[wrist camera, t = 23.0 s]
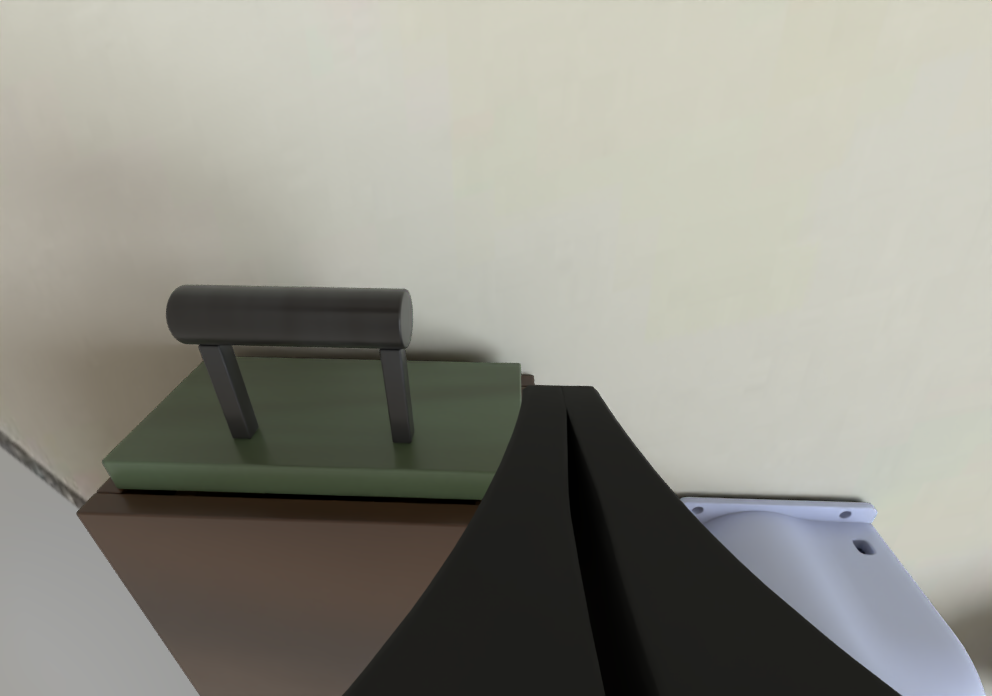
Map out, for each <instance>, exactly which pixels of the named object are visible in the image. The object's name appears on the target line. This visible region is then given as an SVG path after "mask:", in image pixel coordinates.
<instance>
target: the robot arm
mask: <svg viewBox="0 0 992 696" xmlns="http://www.w3.org/2000/svg"><path fill="white" fill-rule="evenodd" d="M876 515H877V510H876V509H875V507H874V506H873V505H872V504H870V503H866V502H835V501H802V500H769V499H736V498H703V497H682V498H680V499H679V498H678V496H677V495H676V494H675V493H674V492H673V491H672V490H671V489H670V487H669V486H668V485H667V484H666V483H665V482H664V480H663V479H662V478H661V477H660V476H659V474H658V473H657V472H656V471H655V470H654V468H653V467H652V466H651V465H650V463H649V462H648V461H647V460H646V458H645V457H644V456H643V454H642V453H641V452H640V451H639V449H638V448H637V447H636V446H635V444H634V443H633V442H632V440H631V439H630V438H629V436H628V435H627V434H626V432H625V431H624V429H623V428H622V427H621V425H620V424H619V423H618V421H617V420H616V418H615V417H614V415H613V414H612V413H611V411H610V410H609V408H608V407H607V405H606V404H605V402H604V401H603V399H602V398H601V396H600V394H599V393H598V391H597V390H596V389H595V388H594V387H593V386H550V385H528V386H527V387H525V388H524V389H523V390H522V402H521V407H520V411H519V415H518V418H517V421H516V424H515V427H514V431H513V433H512V436H511V438H510V441H509V443H508V446H507V448H506V451H505V453H504V456H503V458H502V460H501V463H500V465H499V467H498V469H497V471H496V473H495V475H494V477H493V479H492V481H491V483H490V485H489V487H488V489H487V491H486V493H485V495H484V497H483V499H482V501H481V503H480V505H479V506H478V508H477V510H476V512H475V514H474V515H473V517H472V519H471V521H470V522H469V524H468V526H467V527H466V529H465V531H464V532H463V534H462V536H461V537H460V539H459V540H458V542H457V544H456V545H455V547H454V549H453V550H452V552H451V553H450V555H449V556H448V558H447V559H446V561H445V562H444V564H443V565H442V566H441V568H440V569H439V571H438V572H437V574H436V575H435V577H434V578H433V580H432V581H431V583H430V584H429V586H428V587H427V589H426V590H425V591H424V593H423V594H422V596H421V597H420V598H419V600H418V601H417V602H416V604H415V605H414V607H413V608H412V609H411V611H410V612H409V613H408V614H407V616H406V617H405V618H404V620H403V621H402V622H401V623H400V625H399V626H398V627H397V628H396V630H395V631H394V632H393V634H392V635H391V636H390V637H389V639H388V640H387V641H386V642H385V644H384V645H383V646H382V647H381V649H380V650H379V651H378V653H377V654H376V655H375V656H374V658H373V659H372V660H371V661H370V663H369V664H368V665H367V667H366V668H365V669H364V670H363V672H362V673H361V674H360V675H359V676H358V677H357V679H356V680H355V681H354V682H353V683H352V685H351V686H350V687H349V688H348V689H347V691H346V692H345V693H344V694H343V695H342V696H986V695H985V691H984V688H983V686H982V683H981V680H980V677H979V675H978V673H977V671H976V669H975V666H974V664H973V662H972V660H971V658H970V657H969V655H968V653H967V652H966V650H965V648H964V646H963V645H962V644H961V642H960V641H959V639H958V638H957V636H956V635H955V634H954V632H953V631H952V630H951V628H950V627H949V626H948V624H947V623H946V622H945V620H944V619H943V618H942V616H941V615H940V614H939V612H938V611H937V610H936V609H935V607H934V606H933V605H932V603H931V602H930V601H929V599H928V598H927V597H926V595H925V594H924V593H923V591H922V590H921V589H920V587H919V586H918V585H917V583H916V582H915V581H914V579H913V578H912V577H911V575H910V574H909V573H908V572H907V570H906V569H905V568H904V566H903V565H902V564H901V562H900V561H899V560H898V558H897V557H896V556H895V554H894V553H893V552H892V550H891V549H890V548H889V546H888V545H887V544H886V542H885V541H884V540H883V538H882V537H881V536H880V535H879V533H878V532H877V531H876V529H875V528H874V527H873V525H872V524H871V523H872V522H873V520H874V518H875V517H876Z"/></svg>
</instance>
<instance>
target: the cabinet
mask: <svg viewBox="0 0 992 696" xmlns="http://www.w3.org/2000/svg"><path fill="white" fill-rule="evenodd" d="M528 385H535V384H534V376H533V375H521V402H522V390H523V389H524V388H525V387H527V386H528ZM175 493H176V491H175V490H143V489H119V488H117V487H116V486H115V484H114V482H113V481H112V479H111V477H110V478H109V479H108V480H107V481H106V482H105V483H104V484H103V485H102V486H101V487H100V488H99V489H98V490H97V493H95V494H94V495H93V496H92V497H91V498H90V499H89V500H88V501H87V502H86V503H85V504H84V505H83V506H82V507H81V508H80V509H79V510H78V511H77V516H78V517H79V519H80V520H81V522H82V523H83V525H84V526H85V528H86V529H87V531H88V532H89V534H90V535H91V536H92V538H93V539H94V541H95V542H96V544H97V545H98V547H99V548H100V550H101V551H102V552H103V554H104V555H105V557H106V558H107V560H108V561H109V563H110V564H111V566H112V567H113V569H114V570H115V572H116V573H117V574H118V576H119V578H120V579H121V580H122V582H123V583H124V585H125V586H126V588H127V589H128V591H129V592H130V594H131V595H132V597H133V598H134V600H135V601H136V602H137V604H138V605H139V607H140V608H141V610H142V611H143V613H144V614H145V616H146V617H147V619H148V620H149V622H150V623H151V624H152V626H153V627H154V629H155V630H156V632H157V633H158V635H159V636H160V638H161V639H162V641H163V642H164V644H165V645H166V646H167V648H168V650H169V651H170V652H171V654H172V655H173V657H174V658H175V660H176V661H177V663H178V664H179V665H180V667H181V668H182V670H183V672H184V673H185V675H186V676H187V677H188V679H189V680H190V682H191V683H192V685H193V686H194V688H195V689H196V691H197V692H198V693H199V695H200V696H342V695H343V694H344V693H345V692H346V691H347V689H348V688H349V687H350V686H351V685H352V683H353V682H354V681H355V680H356V679H357V677H358V676H359V675H360V674H361V673H362V672H363V670H364V669H365V668H366V667H367V665H368V664H369V663H370V661H371V660H372V659H373V658H374V656H375V655H376V654H377V653H378V651H379V650H380V649H381V647H382V646H383V645H384V644H385V642H386V641H387V640H388V639H389V637H390V636H391V635H392V634H393V632H394V631H395V630H396V628H397V627H398V626H399V625H400V623H401V622H402V621H403V620H404V618H405V617H406V616H407V614H408V613H409V612H410V611H411V609H412V608H413V607H414V605H415V604H416V602H417V601H418V600H419V598H420V597H421V596H422V594H423V593H424V591H425V590H426V589H427V587H428V586H429V584H430V583H431V581H432V580H433V578H434V577H435V575H436V574H437V572H438V571H439V569H440V568H441V566H442V565H443V564H444V562H445V561H446V559H447V558H448V556H449V555H450V553H451V552H452V550H453V549H454V547H455V545H456V544H457V542H458V540H459V539H460V537H461V536H462V534H463V532H464V531H465V529H466V527H467V526H468V524H469V522H470V521H471V519H472V517H473V515H474V514H475V512H476V510H477V508H478V506H479V505H467V504H435V503H403V502H371V501H339V500H307V499H275V498H242V497H210V496H178V495H174V494H175Z"/></svg>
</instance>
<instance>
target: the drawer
mask: <svg viewBox="0 0 992 696" xmlns="http://www.w3.org/2000/svg"><path fill="white" fill-rule="evenodd" d="M166 318H167V324H168V327H169V330H170V332H171V333H172V335H173V336H174V337H175V338H176V339H177V340H178V341H179V342H182V343H184V344H200V345H199V350H200V353H201V355H202V358H203V362H202V363H201V364H200V365H199V366H198V367H197V368H196V369H195V370H194V371H193V372H192V373H191V374H190V375H188V376H187V377H186V378H185V379H184V380H183V381H182V382H181V383H180V384H179V385H178V386H177V387H176V388H175V389H174V390H173V391H172V392H171V393H170V394H169V395H168V396H167V397H166V398H165V399H164V400H163V401H162V402H161V403H160V404H159V405H158V406H157V407H156V408H155V409H154V410H153V411H152V412H151V413H150V414H149V415H148V416H147V417H146V418H145V419H144V420H143V421H142V422H141V423H140V424H139V425H138V426H137V427H136V428H135V429H134V430H133V431H132V432H131V433H130V434H129V435H128V436H127V437H126V438H125V439H124V440H122V441H121V442H120V443H119V444H118V445H117V446H116V447H115V448H114V449H113V450H112V451H111V452H110V453H109V454H108V455H107V456H106V457H105V458H104V459H103V460H102V464H103V465H104V467H105V469H106V470H107V472H108V474H109V475H110V477H111V479H112V481H113V482H114V484H115V486H116V487H117V488H119V489H143V490H175V491H176V493H175V494H174V495H178V496H210V497H242V498H262V497H263V495H264V494H265V493H272V494H304V495H337V496H369V497H375V498H374V501H373V502H403V503H435V504H467V505H480V503H481V501H482V499H483V497H484V495H485V493H486V491H487V489H488V487H489V485H490V483H491V481H492V479H493V477H494V475H495V473H496V471H497V469H498V467H499V465H500V463H501V460H502V458H503V456H504V453H505V451H506V448H507V446H508V443H509V441H510V438H511V436H512V433H513V431H514V427H515V424H516V421H517V418H518V415H519V411H520V407H521V365H520V364H519V363H486V362H443V361H407V359H406V350H405V349H406V348H407V347H408V346H409V343H410V340H411V336H412V327H413V309H412V301H411V296H410V293H409V291H408V290H406V289H387V288H334V287H282V286H229V285H182V286H180V287H178V288H176V289H175V290H174V291H173V292H172V294H171V295H170V297H169V300H168V303H167V309H166ZM232 345H246V346H290V347H335V348H379V349H380V350H379V351H380V358H381V360H357V359H313V358H270V357H236V356H235V353H234V350H233V347H232Z"/></svg>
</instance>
